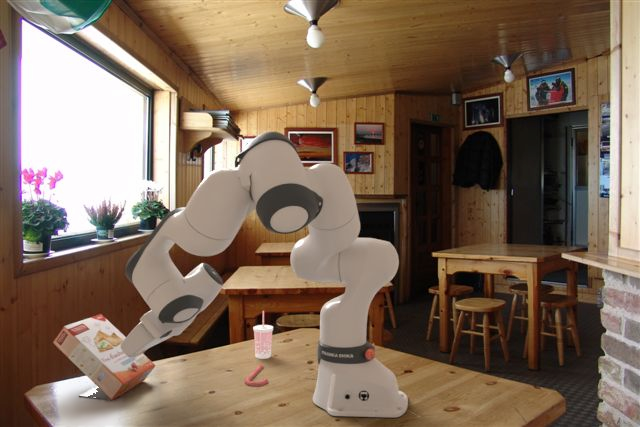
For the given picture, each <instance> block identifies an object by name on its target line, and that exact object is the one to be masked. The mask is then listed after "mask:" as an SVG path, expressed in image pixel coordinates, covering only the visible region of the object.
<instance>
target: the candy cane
mask: <svg viewBox="0 0 640 427" xmlns="http://www.w3.org/2000/svg"><path fill="white" fill-rule="evenodd" d="M263 369H264V365H263V364H259V365H258V366H257V367H256V368H255V369H254V370H253V371H252V372H251V373H250V374H249V375H248V376H247V377H246V379H245V380H244V385H246V386H248V387H262V386H265V385H267V384H268V383H269V380H268V378H267V377H265V378H263V379H262V380H261V381H253V380H254V379H255V377H257V375H258V374H259V373H260V372H261V371H262V370H263Z"/></svg>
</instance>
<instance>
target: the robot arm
mask: <svg viewBox="0 0 640 427" xmlns="http://www.w3.org/2000/svg"><path fill="white" fill-rule="evenodd" d="M234 159H235V160H234V168H233V169H231V168H227V167H224V168H216V169H215V170H212V171H211V172H209V173H208V174H207V175H206V176H205V178H203V180H201V182H200V183H199V185H198V186H197V188H196V189H195V190H194V192H193V193H192V195H191V196H190V198H189V200H188V202H187V203H186V205H185V206H183V207H181V206H180V207H177V208H175V209H172V210H171V211H170V212H168V213H167V214H166V215H165V216H164V217H163V218H161V220H160V222H159V223H158V224H157V225H156V227H155V228H154V229H153V231H152V232H151V233H150V234H149V236H148V237H147V239H146V240H145V242H144V243H143V244H142V245H141V246H140V247H139V249H138V250H137V251H135V252H133V254H132V255H131V256H130V257H129V259H128V261H127V263H126V266H125V271H124V272H125V274H124V275H125V276H126V278H127V279H128V281H129V282H130V283H131V285H133V287H135V289H136V290H137V291H138V294H140V296H141V298H142V299H143V300H144V302H145V303H146V305H148V307H149V308H150V310H149V311H147V312H145V313H144V314H143V315H141V317H140V318H139V321H140V322H139V323H138V324H137V325H136V326H135V327H133V329H131V331H130V332H129V333H128V335H127V336H125V337H126V338H125V339H124V341H123V342H122V343H121V349H122V351H123V352H124V353H125V354H126V355H127V356H128V357H132V356H133V357H134V358H135V357H137V356H139V355H141V354H145V352H146V351H148V349H150V348H152V347H154V346H156V345H158V344H160V343H162V342H164V341H166V340H168V339H170V338H172V337H173V336H175V337H177V336H180V335H181V334H182V333H183V331H185V330H186V329H187V328H188V327H189V326H190V325H191V324H192V323H193V322H194V321H195V319H196V317H197V315H198V314H200V313H202V312H203V311H204V310H205V309H207V307H208V306H210V305H211V303H212V302H213V301H214V300H215V298H216V297H217V296H218V295H219V294H220V292H221V290H222V289H223V288H224V282H223V278H222V277H221V276H220V274H219V273H218V272H217V271H216V269H215V268H213V266H211V265H210V264H208V263H206V262H201V263H200V264H198V265H197V266H196V267H194V268H193V269H192V270H191V271H189V273H187V275H185V276H183V274H182V273H181V272H180V270H179V268H178V267H177V266H176V265H175V263H174V262H173V260H172V258H171V256H170V253H169V251H171V249H172V247H173V246H174V245H175V244H176V245H177V247H180V248H181V249H182V250H184V251H185V252H187V253H188V254H191V255H195V256H198V257H212V256H215V255H218V254H220V253H222V252H224V251H225V250H226V249H227V248H228V247H229V246H230V245H231V244H232V242H233V240H234V239H235V238H236V237H237V236H236V235H237V234H238V233H239V231H240V229H241V227H242V225H243V223H244V221H245V219H247V217H248V216H249V215H250V214H251V213H252V212H254V211H255V212H256V215H257V217H258V219H259V222H261V224H262V226H263V227H264V228H265V230H267V231H269V232H271V233H274V234H281V235H287V234H294V233H297V232H299V231H300V230H303V229H304V228H305V227H308V228H307V229H308V234H307V236H305V237H303V238H300V239H299V240H298V241H297V242H296V243H295V244H294V246H293V247H292V249H291V252H290V259H289V261H290V266H291V269H292V271H293V274H294V275H295V276H296V277H297V278H298V279H300V280H306V281H308V282H309V281H310V282H313V283H322V284H324V283H325V284H343V285H345V289H344V290H345V291H344V293H342V294H341V295H339V296H337V297H334V298H332V299H330V300H329V301H327V302H325V303H324V304H323V305H322V307H321V309H320V311H319V312H320V314H319V339H318V343H317V348H316V349H317V351H316V352H317V353H316V354H317V364H318V370H317V377H316V383H315V384H316V385H315V389H314V393H313V395H312V402H313V403H314V404H315V405H316V406H317V407H319V408H321V409H323V410H324V411H326V412H327V414H329V415H330V416H333V417H359V418H360V417H364V418H399V417H401V416H403V415H404V414H405V413H406V412H407V410H408V406H409V400H408V396H407V394H406V393H405V392H404V391H402V390H399V384H398V380H397V378H396V375H395V374H394V372H393V371H392V370H391V369H389V368H388V367H387V366H385V365H384V364H383V363H381V362H380V361H379V360H378V359H377V358H376V357H375V355H376V354H375V352H376V350H375V342H372V343H371V342H369V341H368V340H367V326H368V325H367V324H368V315H369V310H370V306H371V304H372V301H373V299H374V297H375V295H377V293H378V292H379V291H380V290H381V289H382V288H383V287H384V286H385V285H387V284H388V283H389V282H391V281H392V280H393V279H394V277H395V276H396V274H397V272H398V269H399V265H400V260H399V254H398V252H397V249H396V248H395V246H394V245H393V244H392V243H391V241H387V240H383V239H377V238H373V237H359V234H360V233H361V232H360V231H361V221H360V215H359V211H358V205H357V201H356V196H355V194H354V190H353V187H352V185H351V183H350V180H349V178H348V177H347V175H346V173H345V171H344V170H343V169H342V168H341V167H340V166H338V165H337V164H334V163H330V162H319V163H316V164H314V165H312V166H310V167H307V166H306V167H304V164H303V162H302V160H301V157H299V154H298V150H297V148H296V146H295V145H294V143H293V141H291V139H290V138H289V137H287V136H286V135H285V134H283V133H281V132H278V131H268V132H262V133H260V134H259V135H257V136H255V137H254V138H253V139H252V140H250V141H249V142H248V143H247V144H246V145H245V147H244V148H243V150H242V151H241V152H239V153H238V154H237V155H236V157H235V158H234Z"/></svg>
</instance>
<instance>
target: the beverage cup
mask: <svg viewBox="0 0 640 427" xmlns="http://www.w3.org/2000/svg"><path fill="white" fill-rule="evenodd" d="M252 329H253V336H254V351H255V352H254V354H255V358H257V359H260V360H265V359H269V358H271V355H272V343H273V342H272V340H273V331H274V326H273V325H271V324H270V325H269V324H265V310H262V324H257V325H255V326H253V327H252Z"/></svg>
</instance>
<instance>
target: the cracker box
mask: <svg viewBox="0 0 640 427" xmlns="http://www.w3.org/2000/svg"><path fill="white" fill-rule="evenodd" d="M126 337H127V336H125V335H124V334H123V333H122V332H121V331H120V330H119V329H118V328H117V327H116V326H114V324H112V323H111V322H110V320H108V319H107V318H106V317H105V316H104V315H103V314H102V313H100V314H97V315H94V316H91V317H89V318H88V317H87V318H84V319H82V320H79V321H76V322H72V323H69V324H67V325H64V326H63V327H62V329H61V330H60V332H59V333H58V335H56V337H55V339H54V340H53V342H52V344H54V345H55V346H56V348H58V350H59V351H61V353H63V354H64V355H65V357H67V358H68V359H69V360H70V361H71V362H72V363H73V364H74V365H75V366H76V367H77V368H79V370H80V371H81V372H82V373H84V375H85V376H86V377H87V378H89V379H90V380H91V382H93V383H94V385H95V386H98V387H99V388H100V389H101V390H102V391H103V392H104V393H105V394H106V395H107V396H108V397H109V398H110V399H111V400H110V401H113V400H116V399H117V398H119V397H120V396H121V395H123V394H125V393H126V392H128V391H129V390H131V389H133V388H135V387H136V386H139V385H140V384H141V383H143V382H144V381H145V380H146V379H147V378H148V377H149V375H150V373H151V372H152V371H153V370H154V368H156V364H155V363H154V362H152V360H151V359H149V358H148V356H146V355H145V353H143V354H141V355H139V356H137V357H135V358H134V357H133V356H132V357H128V356H127V355H126V354H125V353H124V352H123V351H122V349H121V343H122V342H123V341H124V339H125V338H126Z"/></svg>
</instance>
